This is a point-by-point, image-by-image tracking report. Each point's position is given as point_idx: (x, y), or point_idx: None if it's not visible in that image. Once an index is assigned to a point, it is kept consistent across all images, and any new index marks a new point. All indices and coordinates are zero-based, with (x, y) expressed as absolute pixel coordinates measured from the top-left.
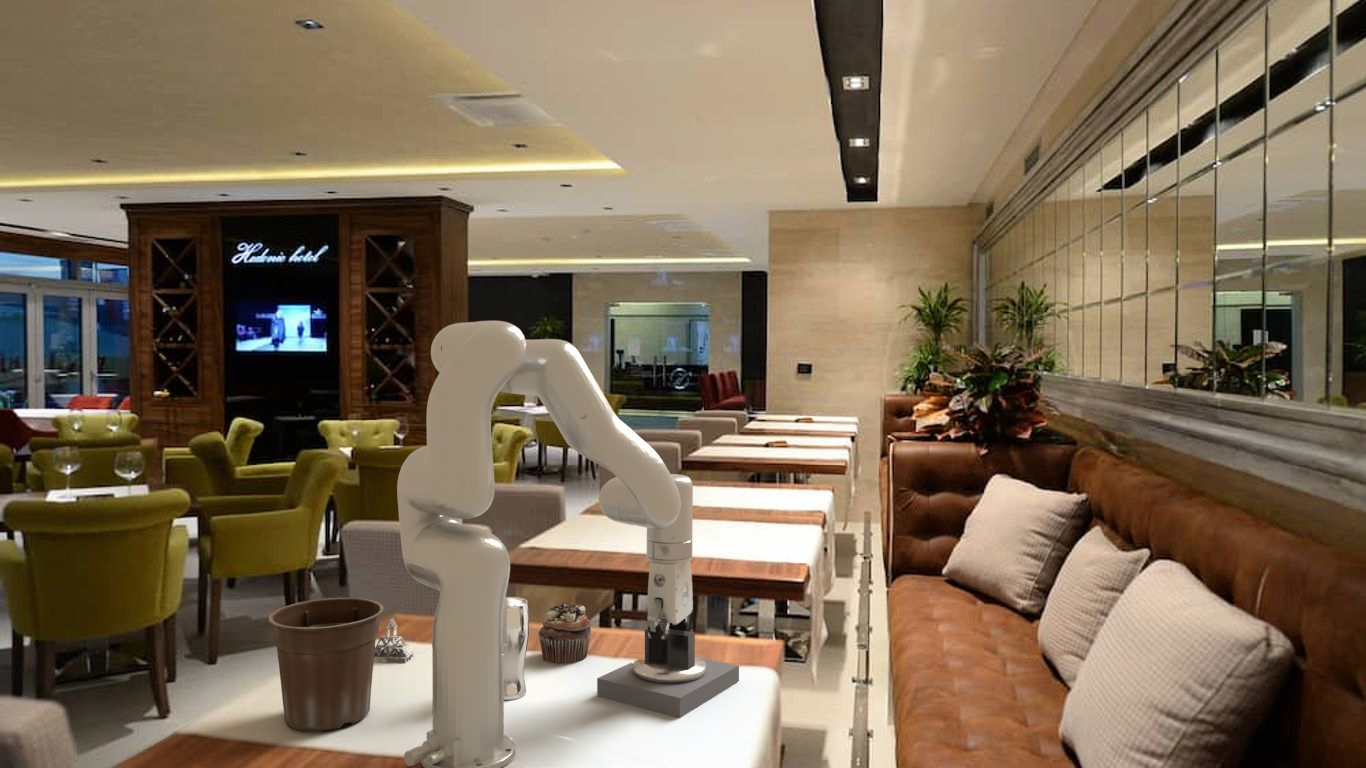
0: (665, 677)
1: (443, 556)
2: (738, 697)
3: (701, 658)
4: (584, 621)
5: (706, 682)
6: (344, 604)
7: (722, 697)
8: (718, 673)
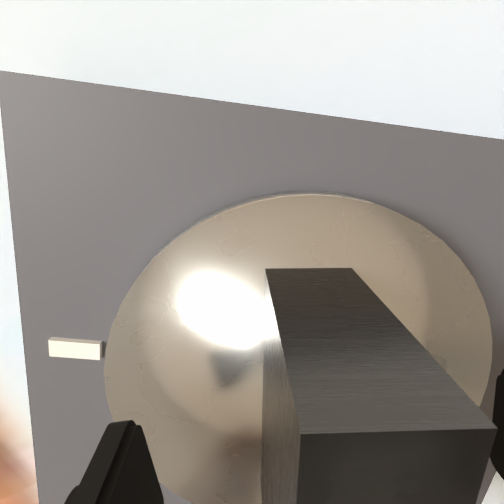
0: (487, 322)
1: None
2: (234, 7)
3: (32, 322)
4: None
5: (375, 131)
6: None
7: (268, 86)
8: (206, 131)
